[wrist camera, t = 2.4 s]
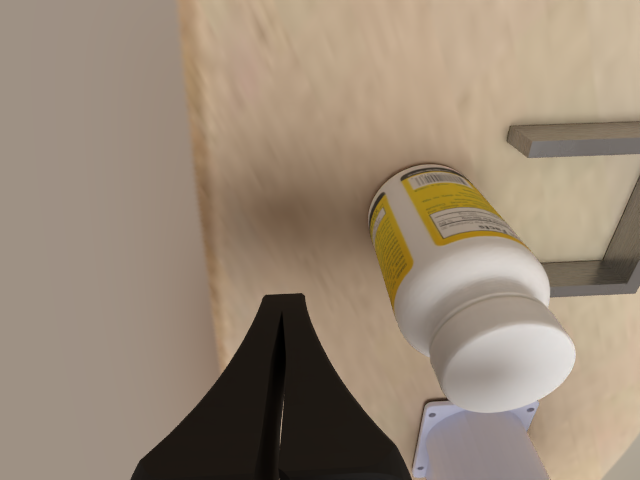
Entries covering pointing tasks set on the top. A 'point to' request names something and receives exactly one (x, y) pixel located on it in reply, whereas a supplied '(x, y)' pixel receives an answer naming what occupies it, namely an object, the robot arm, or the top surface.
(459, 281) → the supplement bottle
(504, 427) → the robot arm
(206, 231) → the top surface
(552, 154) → the bracket
